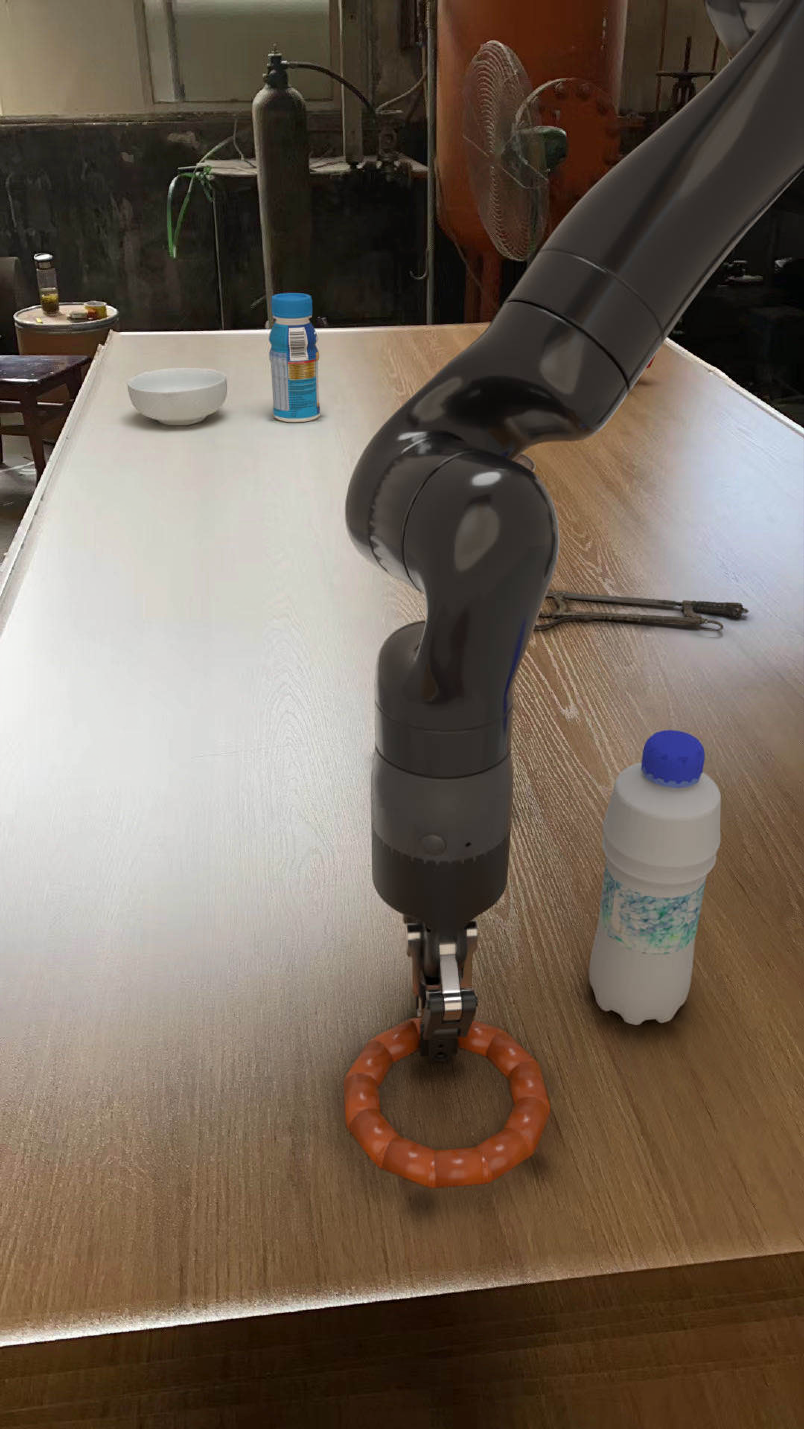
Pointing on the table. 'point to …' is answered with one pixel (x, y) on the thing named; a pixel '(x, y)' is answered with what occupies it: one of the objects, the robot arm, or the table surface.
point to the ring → (451, 1163)
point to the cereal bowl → (178, 394)
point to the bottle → (654, 879)
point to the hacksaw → (688, 607)
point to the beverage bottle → (294, 359)
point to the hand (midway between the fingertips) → (435, 1041)
